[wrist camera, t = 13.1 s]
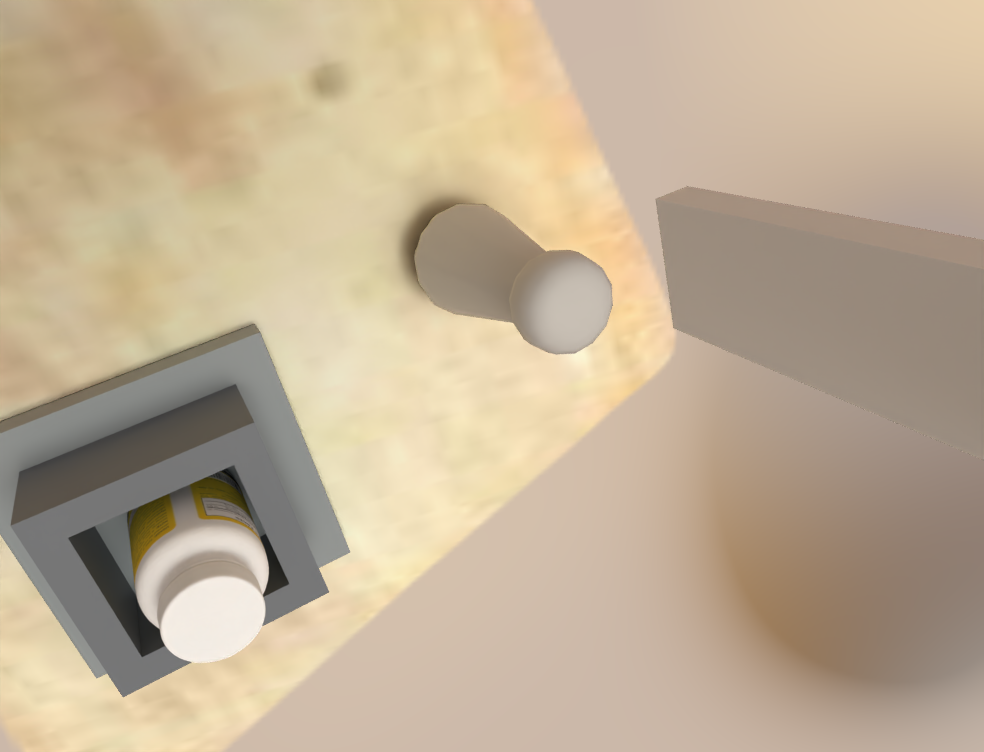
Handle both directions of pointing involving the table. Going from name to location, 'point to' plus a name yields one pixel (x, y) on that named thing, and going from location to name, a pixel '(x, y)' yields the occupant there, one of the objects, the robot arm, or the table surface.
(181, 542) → the supplement bottle
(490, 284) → the salt shaker
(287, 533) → the socket board
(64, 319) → the table surface
